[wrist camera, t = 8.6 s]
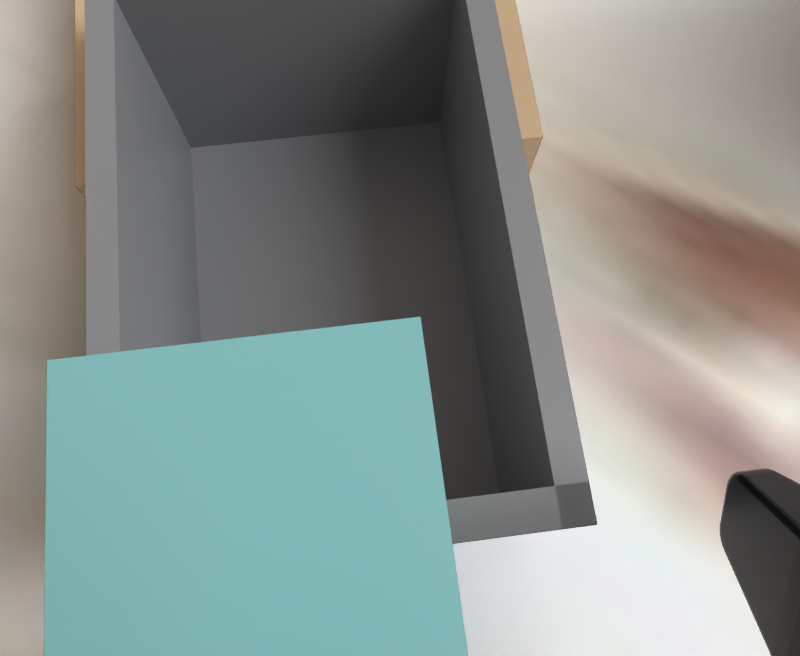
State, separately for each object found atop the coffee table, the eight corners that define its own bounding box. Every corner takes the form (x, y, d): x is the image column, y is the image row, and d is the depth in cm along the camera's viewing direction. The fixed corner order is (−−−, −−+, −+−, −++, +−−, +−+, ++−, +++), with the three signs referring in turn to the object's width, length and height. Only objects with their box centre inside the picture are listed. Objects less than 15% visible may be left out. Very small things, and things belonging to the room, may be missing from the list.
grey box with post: (530, 557, 15) (1074, 635, 3) (195, 603, 15) (-650, 887, 3) (455, 113, 18) (585, -727, 6) (175, 142, 18) (-274, -686, 6)
